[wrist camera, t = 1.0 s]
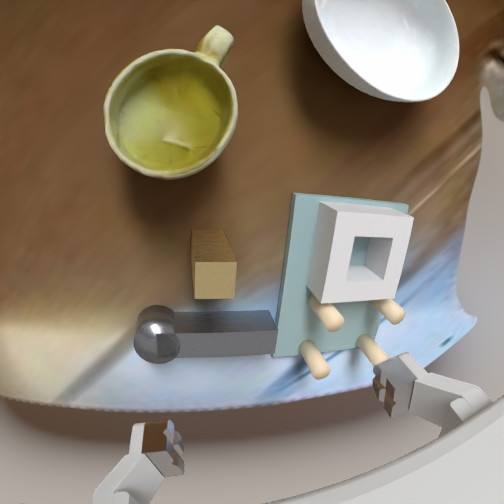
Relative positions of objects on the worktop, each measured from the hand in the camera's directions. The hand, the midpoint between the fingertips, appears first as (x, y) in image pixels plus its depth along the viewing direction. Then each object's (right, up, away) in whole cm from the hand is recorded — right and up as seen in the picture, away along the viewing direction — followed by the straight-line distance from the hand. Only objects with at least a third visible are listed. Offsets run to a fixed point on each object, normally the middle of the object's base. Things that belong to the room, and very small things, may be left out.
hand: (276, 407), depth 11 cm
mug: (-7, +19, +15) cm, 25 cm away
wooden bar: (-5, +7, +20) cm, 21 cm away
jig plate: (+9, +3, +24) cm, 26 cm away
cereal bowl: (+10, +29, +15) cm, 34 cm away
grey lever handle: (-6, -2, +23) cm, 24 cm away
